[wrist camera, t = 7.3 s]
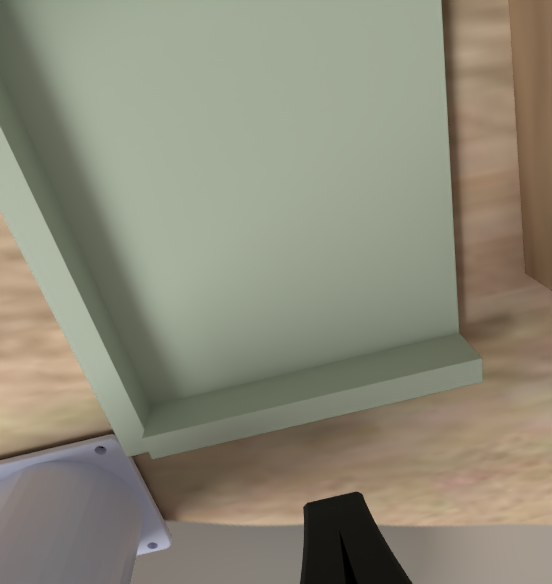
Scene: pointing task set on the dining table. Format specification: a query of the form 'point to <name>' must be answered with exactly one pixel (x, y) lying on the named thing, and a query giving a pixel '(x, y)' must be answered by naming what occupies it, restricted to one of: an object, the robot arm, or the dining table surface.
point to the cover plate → (534, 129)
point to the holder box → (235, 206)
